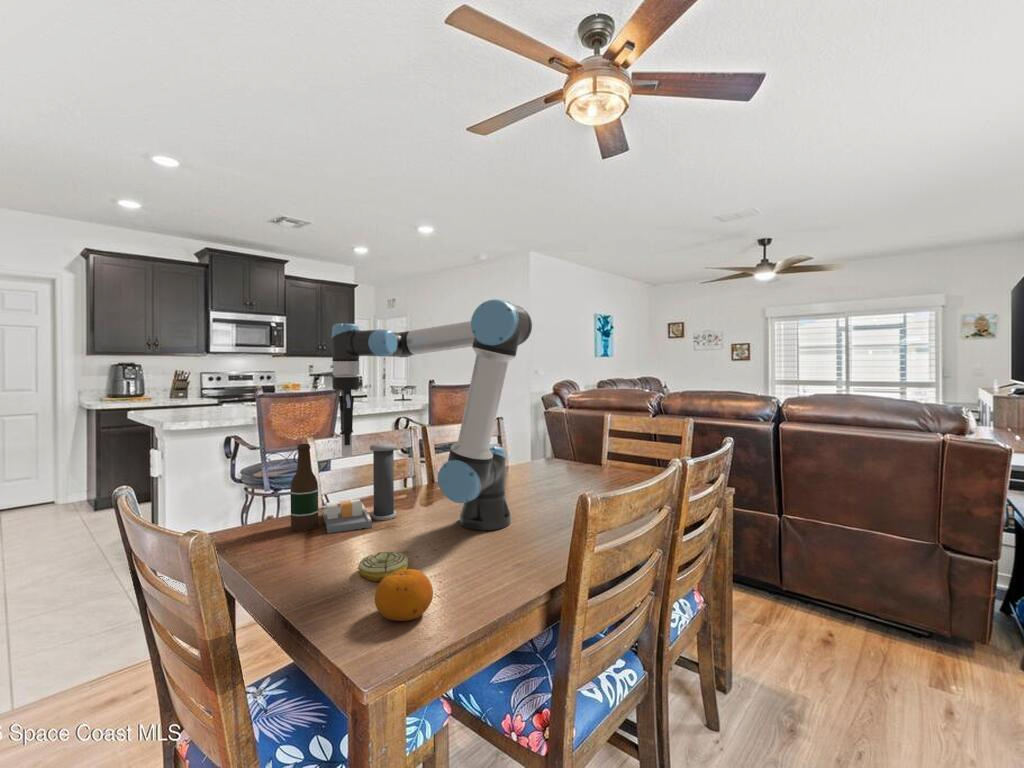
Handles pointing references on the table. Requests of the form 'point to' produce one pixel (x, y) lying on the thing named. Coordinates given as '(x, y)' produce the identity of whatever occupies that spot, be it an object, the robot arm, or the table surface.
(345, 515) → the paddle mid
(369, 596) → the table surface
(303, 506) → the beer bottle
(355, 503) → the paddle right
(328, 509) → the paddle left
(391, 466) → the tall grey cylinder
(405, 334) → the robot arm
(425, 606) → the fruit
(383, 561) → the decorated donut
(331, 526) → the panel
